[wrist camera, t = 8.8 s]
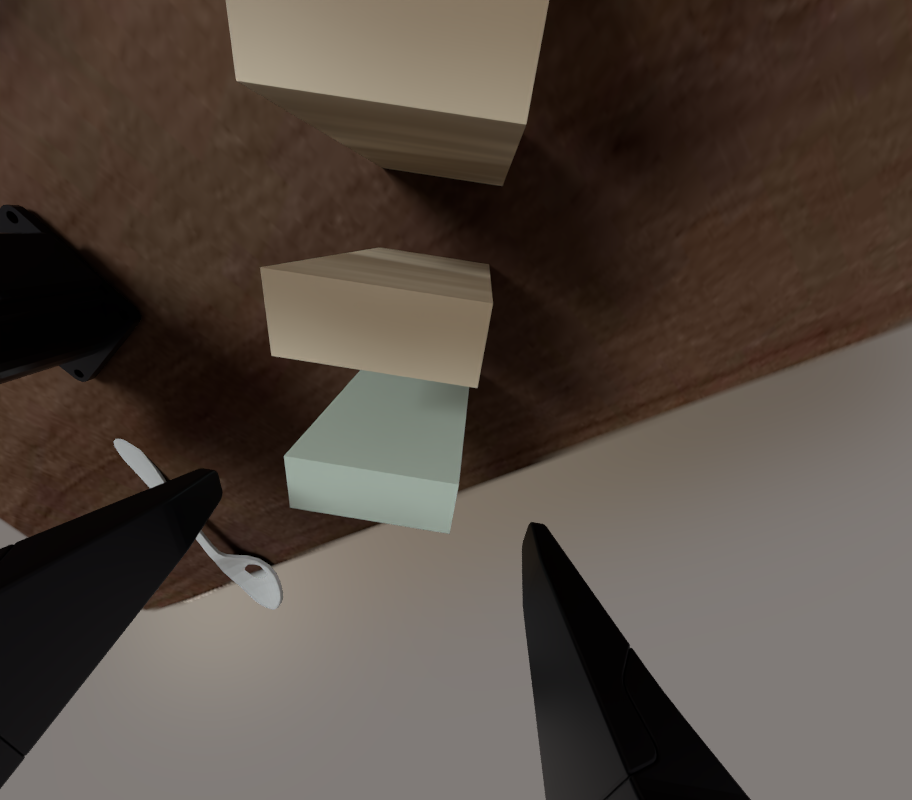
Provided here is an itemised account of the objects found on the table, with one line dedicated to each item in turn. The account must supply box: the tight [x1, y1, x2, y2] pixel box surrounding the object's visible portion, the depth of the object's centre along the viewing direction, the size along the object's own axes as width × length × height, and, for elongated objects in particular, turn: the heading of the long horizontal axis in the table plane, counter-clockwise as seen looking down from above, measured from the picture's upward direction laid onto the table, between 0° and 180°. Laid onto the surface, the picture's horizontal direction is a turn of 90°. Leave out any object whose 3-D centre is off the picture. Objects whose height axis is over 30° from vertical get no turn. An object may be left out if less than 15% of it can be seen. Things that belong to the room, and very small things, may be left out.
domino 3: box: [284, 370, 469, 534], centre depth 14 cm, size 2×5×9 cm, turn 82°
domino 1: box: [226, 0, 549, 186], centre depth 9 cm, size 2×5×9 cm, turn 82°
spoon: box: [114, 439, 283, 609], centre depth 24 cm, size 4×21×2 cm, turn 26°
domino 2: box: [260, 248, 493, 388], centre depth 11 cm, size 2×5×9 cm, turn 82°
